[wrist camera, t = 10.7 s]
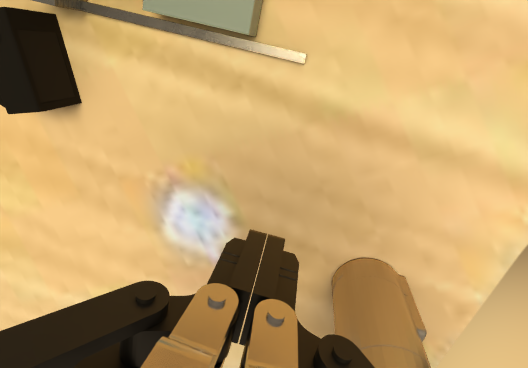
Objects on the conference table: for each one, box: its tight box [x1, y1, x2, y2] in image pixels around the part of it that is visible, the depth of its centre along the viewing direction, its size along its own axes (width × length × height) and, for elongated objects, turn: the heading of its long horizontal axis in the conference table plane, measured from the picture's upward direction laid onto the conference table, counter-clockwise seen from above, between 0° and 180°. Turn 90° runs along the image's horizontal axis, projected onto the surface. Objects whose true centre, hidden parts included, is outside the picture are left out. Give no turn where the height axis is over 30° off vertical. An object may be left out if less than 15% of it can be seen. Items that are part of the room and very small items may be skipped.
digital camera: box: [0, 7, 82, 114], centre depth 37 cm, size 10×5×7 cm, turn 6°
